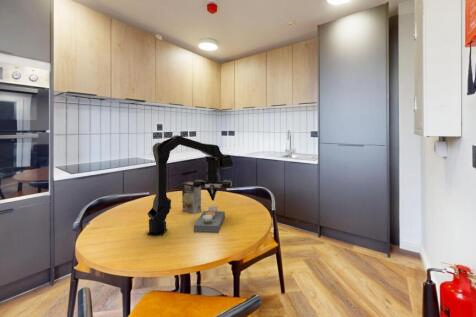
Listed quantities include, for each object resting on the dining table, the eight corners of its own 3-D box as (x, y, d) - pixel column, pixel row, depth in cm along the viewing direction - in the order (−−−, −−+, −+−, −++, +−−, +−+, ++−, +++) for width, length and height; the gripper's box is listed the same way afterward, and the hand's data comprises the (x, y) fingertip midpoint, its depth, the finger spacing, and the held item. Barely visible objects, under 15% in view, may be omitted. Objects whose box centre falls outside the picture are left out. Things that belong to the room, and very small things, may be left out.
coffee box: (181, 211, 142) (181, 183, 140) (189, 208, 147) (189, 181, 145) (194, 213, 137) (193, 184, 135) (201, 210, 142) (201, 182, 140)
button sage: (201, 221, 113) (201, 217, 113) (203, 218, 117) (203, 214, 117) (211, 221, 112) (211, 217, 112) (213, 218, 117) (213, 214, 116)
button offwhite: (207, 212, 126) (207, 208, 125) (209, 209, 130) (209, 206, 130) (216, 212, 125) (216, 208, 125) (218, 209, 130) (218, 206, 129)
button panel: (193, 232, 112) (193, 225, 112) (204, 216, 132) (203, 210, 132) (218, 232, 111) (218, 225, 111) (224, 217, 131) (224, 211, 131)
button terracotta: (205, 218, 119) (204, 214, 119) (206, 214, 124) (206, 211, 123) (214, 218, 119) (214, 214, 119) (215, 215, 123) (215, 211, 123)
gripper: (233, 167, 132) (233, 196, 134) (198, 167, 134) (198, 195, 136) (230, 171, 121) (230, 202, 123) (192, 170, 123) (193, 201, 125)
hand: (213, 200), depth 127 cm, fingers closed
